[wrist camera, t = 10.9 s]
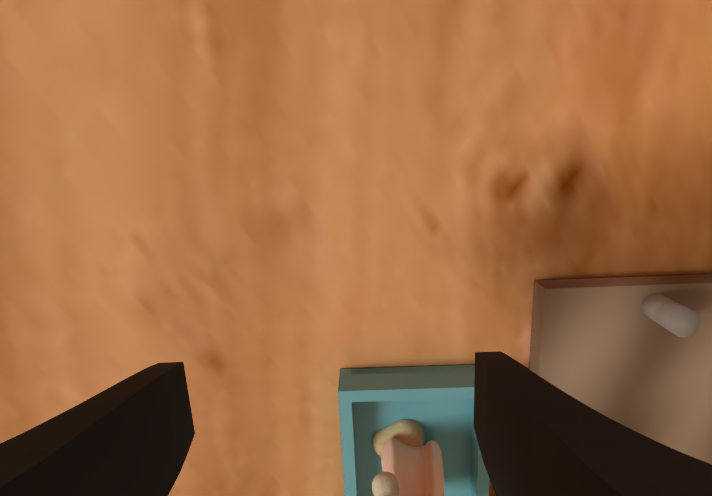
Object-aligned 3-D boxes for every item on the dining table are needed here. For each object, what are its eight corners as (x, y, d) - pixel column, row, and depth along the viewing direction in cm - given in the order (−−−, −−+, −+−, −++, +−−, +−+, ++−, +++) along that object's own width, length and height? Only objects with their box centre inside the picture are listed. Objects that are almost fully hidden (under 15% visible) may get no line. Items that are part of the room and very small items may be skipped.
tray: (481, 364, 22) (493, 386, 20) (476, 539, 25) (485, 574, 23) (340, 368, 22) (338, 391, 20) (350, 542, 25) (349, 576, 23)
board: (747, 272, 20) (817, 296, 17) (701, 511, 24) (751, 568, 21) (534, 280, 21) (564, 306, 17) (520, 516, 24) (542, 572, 21)
